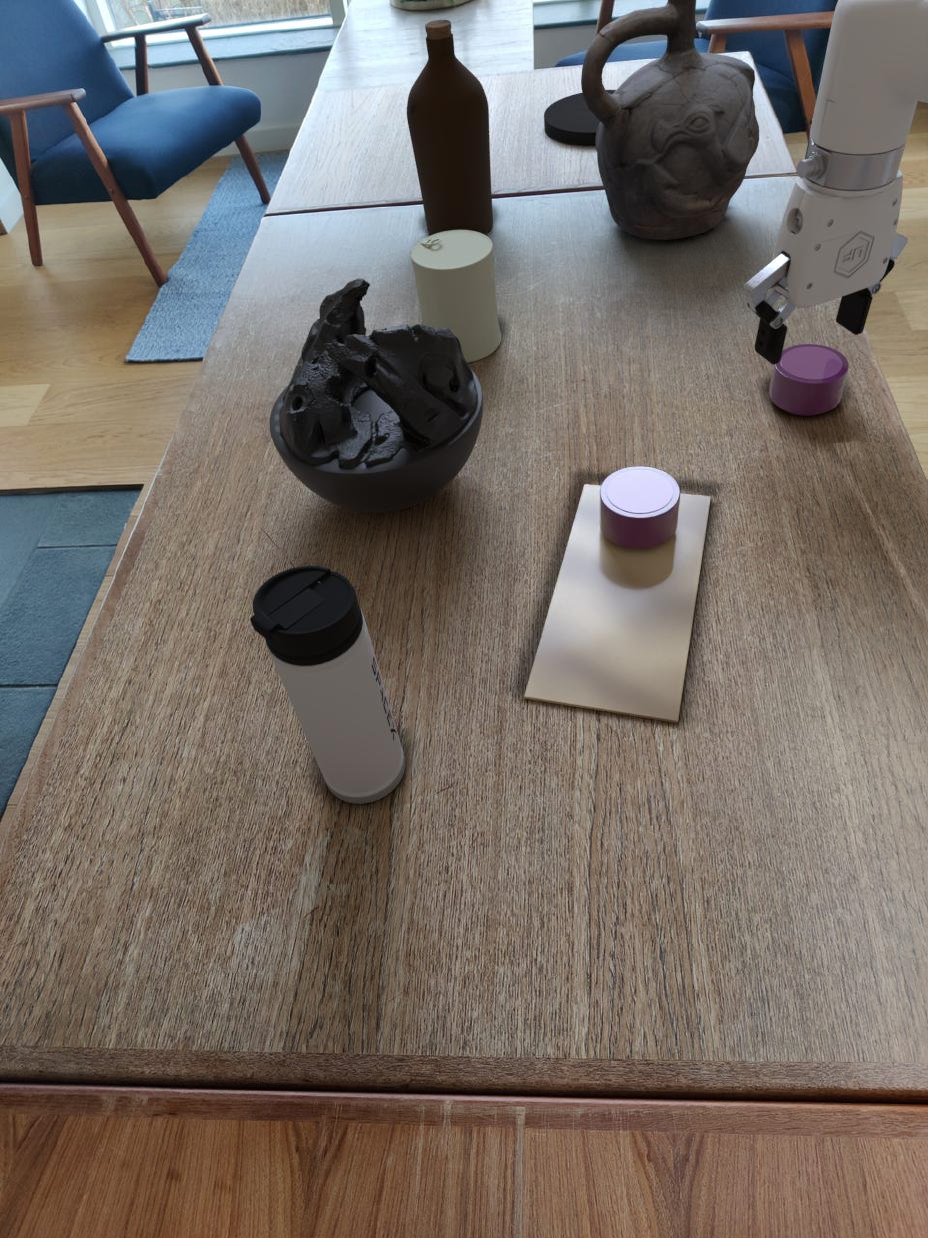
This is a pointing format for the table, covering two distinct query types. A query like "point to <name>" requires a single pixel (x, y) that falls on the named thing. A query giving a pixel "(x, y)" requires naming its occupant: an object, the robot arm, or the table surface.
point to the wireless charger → (571, 121)
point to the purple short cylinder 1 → (639, 507)
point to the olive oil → (450, 139)
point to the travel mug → (331, 679)
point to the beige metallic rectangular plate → (621, 617)
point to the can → (459, 289)
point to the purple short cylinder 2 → (808, 379)
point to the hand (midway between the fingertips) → (808, 342)
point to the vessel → (670, 127)
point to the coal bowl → (376, 409)
